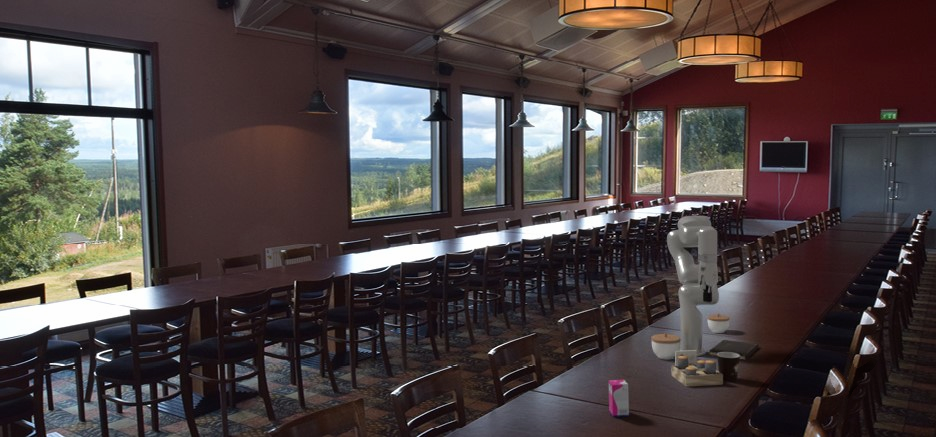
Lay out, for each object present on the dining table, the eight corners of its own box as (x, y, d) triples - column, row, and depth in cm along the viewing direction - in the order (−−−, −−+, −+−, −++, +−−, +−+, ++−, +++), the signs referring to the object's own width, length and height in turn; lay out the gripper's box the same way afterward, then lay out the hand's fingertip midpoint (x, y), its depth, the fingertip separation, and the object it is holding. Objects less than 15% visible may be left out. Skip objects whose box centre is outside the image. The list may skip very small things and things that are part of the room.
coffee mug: (725, 383, 272) (725, 358, 272) (712, 377, 281) (712, 353, 280) (750, 380, 275) (751, 355, 275) (737, 374, 284) (737, 350, 283)
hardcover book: (708, 355, 314) (708, 350, 313) (723, 344, 332) (723, 339, 332) (745, 360, 304) (745, 355, 304) (758, 348, 323) (758, 344, 322)
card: (675, 372, 289) (675, 351, 288) (696, 371, 289) (696, 350, 289) (675, 372, 288) (675, 351, 287) (696, 371, 289) (696, 350, 288)
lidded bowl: (681, 361, 304) (681, 337, 303) (652, 360, 306) (652, 336, 305) (679, 353, 316) (679, 330, 315) (650, 353, 318) (650, 329, 318)
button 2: (683, 379, 276) (683, 367, 275) (693, 378, 276) (693, 366, 276) (687, 382, 272) (687, 370, 271) (698, 381, 272) (698, 369, 272)
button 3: (694, 372, 284) (694, 360, 284) (704, 371, 285) (704, 359, 284) (699, 375, 280) (699, 363, 280) (709, 374, 281) (709, 362, 280)
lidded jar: (732, 334, 349) (732, 315, 348) (711, 334, 349) (711, 316, 349) (725, 329, 360) (725, 311, 359) (704, 329, 360) (704, 311, 359)
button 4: (703, 372, 276) (703, 360, 276) (713, 372, 277) (713, 359, 276) (707, 375, 272) (707, 363, 272) (717, 375, 272) (717, 362, 272)
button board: (671, 375, 285) (671, 365, 285) (706, 373, 286) (706, 363, 286) (685, 386, 270) (685, 376, 270) (722, 384, 271) (722, 374, 271)
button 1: (675, 368, 284) (675, 356, 283) (685, 367, 284) (685, 355, 284) (679, 371, 279) (679, 358, 279) (689, 370, 280) (689, 358, 279)
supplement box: (624, 410, 246) (624, 379, 245) (629, 416, 240) (628, 384, 239) (608, 411, 246) (608, 379, 245) (612, 417, 240) (612, 384, 239)
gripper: (709, 260, 279) (709, 305, 281) (723, 256, 291) (723, 299, 292) (691, 259, 284) (691, 303, 285) (705, 255, 295) (705, 297, 297)
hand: (707, 301), depth 289 cm, fingers closed
